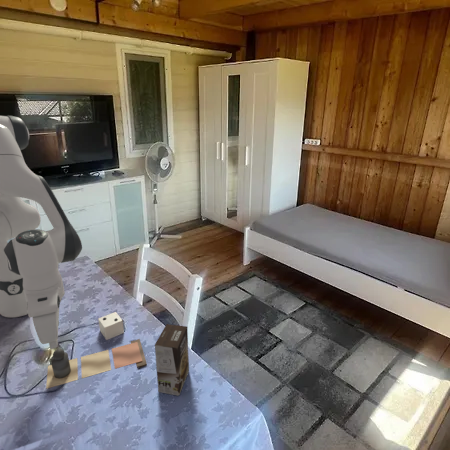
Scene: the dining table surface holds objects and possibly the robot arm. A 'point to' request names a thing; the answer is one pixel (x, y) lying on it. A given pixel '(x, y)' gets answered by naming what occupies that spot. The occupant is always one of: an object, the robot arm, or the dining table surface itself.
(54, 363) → the pawn
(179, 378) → the coffee box
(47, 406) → the dining table surface
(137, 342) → the game board
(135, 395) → the dining table surface
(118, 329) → the die
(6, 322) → the dining table surface
